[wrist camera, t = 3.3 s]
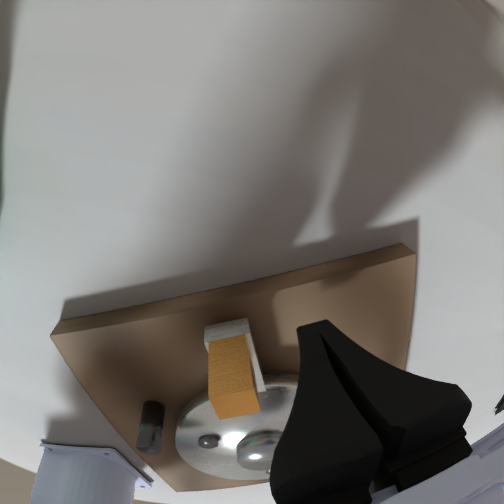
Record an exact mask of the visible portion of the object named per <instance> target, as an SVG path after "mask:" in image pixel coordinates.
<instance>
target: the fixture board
mask: <svg viewBox="0 0 504 504" xmlns="http://www.w3.org/2000/svg"><path fill="white" fill-rule="evenodd" d="M415 271H416V253H415V252H413V251H412V250H411V249H409V248H408V247H406V246H405V245H404V244H402V243H401V244H397V245H393V246H389V247H386V248H382V249H378V250H374V251H370V252H367V253H363V254H359V255H355V256H351V257H347V258H343V259H339V260H335V261H331V262H327V263H323V264H319V265H315V266H311V267H307V268H303V269H299V270H295V271H291V272H287V273H282V274H278V275H274V276H270V277H266V278H261V279H257V280H253V281H248V282H244V283H240V284H235V285H231V286H227V287H222V288H218V289H213V290H209V291H204V292H200V293H195V294H191V295H186V296H181V297H177V298H172V299H167V300H163V301H158V302H153V303H148V304H144V305H139V306H134V307H129V308H124V309H119V310H114V311H109V312H104V313H99V314H94V315H88V316H83V317H78V318H73V319H67V320H62V321H59V322H58V324H57V325H56V327H55V328H54V330H53V331H52V333H51V334H50V337H51V339H52V341H53V342H54V344H55V346H56V347H57V349H58V351H59V352H60V354H61V355H62V357H63V359H64V360H65V362H66V363H67V365H68V366H69V368H70V369H71V371H72V372H73V374H74V375H75V377H76V378H77V380H78V381H79V383H80V384H81V385H82V387H83V388H84V390H85V391H86V392H87V394H88V395H89V396H90V398H91V399H92V400H93V402H94V403H95V404H96V406H97V407H98V408H99V410H100V411H101V412H102V413H103V415H104V416H105V417H106V418H107V420H108V421H109V422H110V423H111V424H112V426H113V427H114V428H115V429H116V430H117V432H118V433H119V434H120V435H121V436H122V437H123V439H124V440H125V441H126V442H127V443H128V444H129V445H130V446H131V447H132V449H133V450H134V451H135V452H136V453H137V454H138V455H139V456H140V457H141V458H142V459H143V460H144V461H145V462H146V463H147V464H148V465H149V466H150V467H151V468H152V469H153V470H154V471H155V472H156V473H157V474H158V475H159V476H160V477H161V478H162V479H163V480H164V481H165V482H166V483H167V484H168V485H169V486H170V487H172V488H173V489H174V490H175V491H176V492H186V491H203V490H215V489H225V488H233V487H241V486H248V485H254V484H260V483H266V482H270V480H269V479H261V480H235V479H227V478H221V477H217V476H213V475H210V474H207V473H204V472H202V471H200V470H198V469H196V468H194V467H192V466H191V465H189V464H188V463H187V462H186V461H185V460H184V459H183V458H182V457H181V456H180V454H179V453H178V451H177V448H176V444H175V436H176V424H177V419H178V417H179V414H180V412H181V411H182V410H183V408H184V407H185V406H186V405H187V404H188V403H189V402H190V401H191V400H192V399H194V398H195V397H196V396H198V395H199V394H201V393H203V392H205V391H206V390H208V351H207V349H206V346H205V344H204V330H205V326H209V325H214V324H218V323H223V322H228V321H232V320H237V319H241V318H246V317H247V318H248V322H249V325H250V329H251V333H252V337H253V340H254V344H255V348H256V351H257V355H258V359H259V362H260V366H261V370H262V373H263V375H269V374H289V375H299V369H300V351H299V345H298V338H297V332H296V329H297V328H298V326H302V325H306V324H310V323H314V322H317V321H321V320H325V319H327V320H329V321H330V322H331V323H332V324H334V325H335V326H336V327H337V328H338V329H339V330H340V331H342V332H343V333H344V334H345V335H346V336H348V337H349V338H350V339H352V340H353V341H354V342H356V343H357V344H358V345H360V346H361V347H363V348H364V349H365V350H367V351H368V352H370V353H372V354H373V355H375V356H376V357H378V358H380V359H381V360H383V361H385V362H387V363H389V364H391V365H393V366H395V367H397V368H399V369H402V370H404V369H405V364H406V357H407V351H408V344H409V337H410V329H411V320H412V311H413V300H414V287H415ZM150 400H152V401H157V402H160V403H161V404H163V405H164V406H165V417H164V426H163V435H162V445H161V453H160V454H158V455H147V454H144V453H141V452H140V451H138V450H137V449H136V442H137V436H138V430H139V425H140V419H141V413H142V408H143V404H144V402H146V401H150Z"/></svg>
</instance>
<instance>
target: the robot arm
mask: <svg viewBox="0 0 504 504" xmlns="http://www.w3.org/2000/svg"><path fill="white" fill-rule="evenodd" d="M296 332H297V338H298V345H299V351H300V369H299V378H298V384H297V389H296V394H295V398H294V402H293V406H292V409H291V412H290V415H289V418H288V421H287V423H286V426H285V429H284V431H283V433H282V435H281V437H280V439H279V442H278V444H277V446H276V448H275V450H274V454H273V459H272V463H271V469H270V477H269V480H270V488H271V493H272V496H273V498H274V500H275V502H276V504H504V490H503V488H504V423H503V424H501V425H500V426H499V427H497V428H496V429H495V430H493V431H492V432H490V433H489V434H487V435H486V436H484V437H483V438H481V439H480V440H478V441H477V442H475V443H474V444H472V445H469V443H468V441H467V440H466V438H465V436H466V431H465V430H464V428H463V425H464V423H465V421H466V419H467V417H468V415H469V413H470V411H471V407H472V402H471V401H470V399H469V398H468V397H467V395H466V394H465V393H464V392H463V390H462V389H461V388H460V387H459V386H458V385H456V384H450V383H445V382H440V381H435V380H431V379H428V378H424V377H421V376H418V375H415V374H412V373H410V372H407V371H404V370H402V369H399V368H397V367H395V366H393V365H391V364H389V363H387V362H385V361H383V360H381V359H380V358H378V357H376V356H375V355H373V354H372V353H370V352H368V351H367V350H365V349H364V348H363V347H361V346H360V345H358V344H357V343H356V342H354V341H353V340H352V339H350V338H349V337H348V336H346V335H345V334H344V333H343V332H342V331H340V330H339V329H338V328H337V327H336V326H335V325H334V324H332V323H331V322H330V321H329V320H327V319H325V320H321V321H317V322H314V323H310V324H306V325H302V326H298V328H297V329H296ZM40 448H41V449H42V450H43V451H44V453H43V456H42V459H41V462H40V465H39V469H38V472H37V475H36V478H35V482H34V485H33V488H32V492H31V504H133V499H134V490H135V488H151V487H152V484H151V483H150V482H149V481H147V480H146V479H145V478H144V477H143V476H142V475H141V474H140V473H139V472H138V471H137V470H136V469H134V468H133V467H132V466H131V465H130V464H129V463H128V462H127V461H126V460H125V459H124V458H123V457H122V456H121V455H120V454H119V453H118V452H117V451H116V450H115V449H112V448H90V447H73V446H61V445H51V444H43V443H41V444H40Z"/></svg>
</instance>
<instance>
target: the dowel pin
mask: <svg viewBox="0 0 504 504" xmlns="http://www.w3.org/2000/svg"><path fill="white" fill-rule="evenodd" d="M164 417H165V406H164V405H163V404H161V403H160V402H157V401H152V400H150V401H146V402H144V404H143V408H142V413H141V419H140V425H139V430H138V436H137V442H136V449H137V450H138V451H140V452H141V453H144V454H147V455H158V454H160V453H161V445H162V435H163V426H164Z"/></svg>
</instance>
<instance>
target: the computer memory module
mask: <svg viewBox="0 0 504 504" xmlns="http://www.w3.org/2000/svg"><path fill="white" fill-rule="evenodd" d="M502 410H504V395H503V397H502V399H501V400H500V402H499V403H498V404H497V406H496V407H495V410H494V412H495V415H496V414H498V413H499V412H501V411H502Z"/></svg>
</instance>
